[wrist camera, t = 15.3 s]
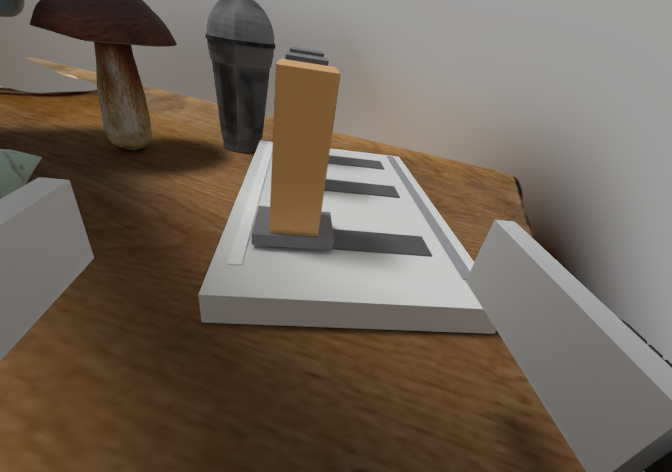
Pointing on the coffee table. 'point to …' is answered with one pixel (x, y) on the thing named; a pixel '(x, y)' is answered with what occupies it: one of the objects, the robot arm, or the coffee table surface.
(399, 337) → the coffee table surface
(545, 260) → the robot arm
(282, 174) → the breaker handle
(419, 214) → the slotted peg board
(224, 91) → the beverage cup
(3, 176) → the green toy bird
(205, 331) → the coffee table surface
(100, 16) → the decorative mushroom
